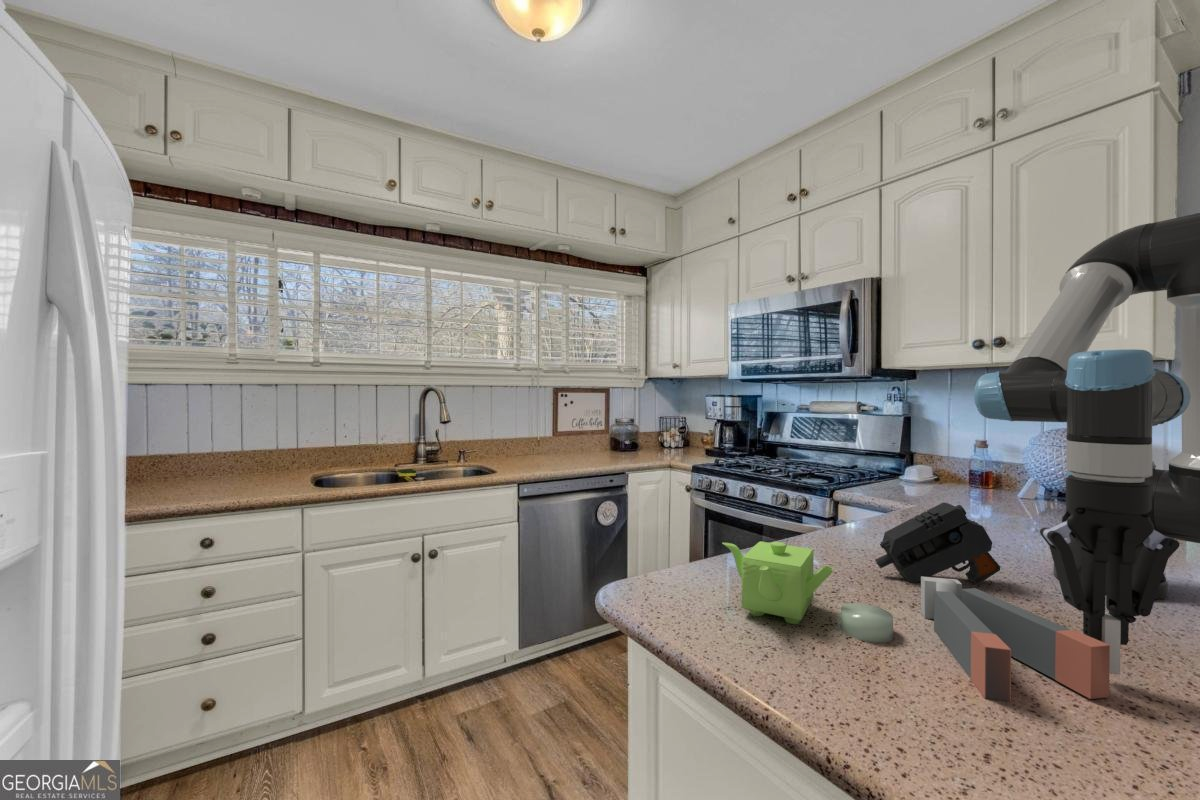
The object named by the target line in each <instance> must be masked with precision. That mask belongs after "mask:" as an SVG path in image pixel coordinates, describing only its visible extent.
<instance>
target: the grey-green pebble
mask: <svg viewBox="0 0 1200 800" xmlns="http://www.w3.org/2000/svg"><path fill="white" fill-rule="evenodd" d="M840 629H841V631H842V632H844V634H845V635H848V636H849V637H851V638H853V639H855V640H856V639H857V640H859V641H863V642H868V643H876V644H877V643H886V642H887V641H888V642H890V641H892V640H893V639H894V616H893V614H892V613H891V612H890V611H888V610H886V609H884V608H883V607H880V606H876V605H873V604H868V603H867V604H866V603H860V602H859V603H858V602H853V603H846V604H843V605H842V606H841V607H840ZM891 639H892V640H891ZM888 642H887V643H888Z"/></svg>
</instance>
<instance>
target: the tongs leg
mask: <svg viewBox="0 0 1200 800" xmlns="http://www.w3.org/2000/svg"><path fill="white" fill-rule="evenodd" d="M961 602H962V603H963V604H964V605H965V606H966V607H967V608H968V609H969V610H970V611H971V612H972V613H973V614H974V615H975V616H976V617H977V618H978V619H979V620H980V621H981V622H982V623H983V624H984V625H985V626H986V627H987V628H988V629H989V630H990V631H991V632H992V633H993V634H996V635H997V636H998V637H999V638H1000V639H1001V640H1002V641H1003V642H1004V643H1005V644H1006V645H1007V646H1008V647H1009V648H1010V649H1011V658H1014V659H1016V660H1018V661H1020V662H1021V663H1024V664H1025V665H1027V666H1029V667H1031V668H1032V669H1035V670H1036V671H1039V672H1041V673H1042V674H1044V675H1046V676H1047V677H1050V678H1051V679H1053V680H1055V681H1056V682H1058V683H1060V684H1061V685H1064V687H1067V688H1069V689H1071V690H1073V691H1075V692H1076V693H1078V694H1080V695H1082V696H1084V697H1085V698H1087V699H1089V700H1093V699H1095V700H1096V699H1104V698H1110V673H1109V667H1110V645H1108V644H1106V643H1104V642H1101V641H1099V640H1097V639H1094V638H1092V637H1090V636H1087V635H1085V634H1084V633H1083V632H1080V631H1078V630H1075V629H1071V628H1068V627H1065V626H1064V625H1061V624H1059V623H1057V622H1054V621H1051V620H1050V619H1047V618H1045V617H1043V616H1041V615H1037V614H1036V613H1033V612H1031V611H1029V610H1026V609H1024V608H1021V607H1020V606H1017V605H1015V604H1013V603H1010V602H1008V601H1006V600H1004V599H1000V598H999V597H997V596H994V595H992V594H990V593H987V592H985V591H982V590H980V589H978V588H975V587H972V588H962V589H961Z"/></svg>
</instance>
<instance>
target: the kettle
mask: <svg viewBox="0 0 1200 800" xmlns="http://www.w3.org/2000/svg"><path fill="white" fill-rule="evenodd" d="M721 543H722V545H723V546H725V547H726V548H727V549H729V550H730V551H731V553H732V557H733V559H734V563H735V566H736V570H737V573H738V576H739V577H740V578H741V608H742V609H745V610H750V611H749V612H750V613H749V614H751V615H752V616H754V617H755V616H756V617H762V616H765V614H769V615H771V616H777V617H782V618H784V621H785V622H786V623H787V624H791V625H798V624H800V622H801V621H802V620H803V617H804V616H805V614H806V612H807V611H808V608H809V606H810V604H811V602H812V600H813V599H814V592H815V591H817V589H818V588H819V587H820V586H821V585H822V584H823V583H824V582H825V581H826V580H827V579H828V577H830V575H832V574H833V573H834V570H835V568H834V567H831V566H829V565H827V564H825V565H824V566H823V567H821V568H820V569H819V570H817V571H816V572H814V549H813V548H807V547H800V546H796V545H795V546H794V545H790V544H789V545H788V544H787V543H785V542H781V541H772V542H766V541H758V542H757V543H756V544H754V546H753V547H752V548H751V549H749V550H748V551H747V552H746V553H745V554H744V555H743V554H742V552H741V549H740V548H739V547H738V546H737V545H736V544H734V543H730V542H721Z"/></svg>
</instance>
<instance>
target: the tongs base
mask: <svg viewBox="0 0 1200 800" xmlns="http://www.w3.org/2000/svg"><path fill="white" fill-rule="evenodd" d="M961 589H963V583H961V581H960V580H958V579H956V578H945V577H944V578H943V577H932V576H930V577H921V580H920V614H921V615H922V617H923V618H924V619H926V620H927V619H928V620H933V631H934V633H935V634H936V636H938V638H939V639H940V640H941V642H942V643H943V644H944V646H945V647H946V648H947V650H948V651H949V652H950V654H951V655H952V656H953V657H954V659H955V661H956V662H957V663H958V664H959V666H960V667H961V668H962V670H963V671H964V672H965V673H966V674H967V676H968V677H969V679H970V681H971V682H972V683H973V685H974V687H975V688H976V689H977V690H978V691H979V693H980V694H981V695H982V696H983V698H984V699H988V700H996V701H1003V702H1009V703H1010V702H1012V697H1011V696H1012V689H1011V688H1012V656H1011V649H1010V648H1009V647H1008V646H1007V645H1006V644H1005V643H1004V642H1003V641H1002V640H1001V639H1000V638H999V637H998V636H997V635H996V634H993V633H992V632H991V631H990V630H989V629H988V628H987V627H986V626H985V625H984V624H983V623H982V622H981V621H980V620H979V619H978V618H977V617H976V616H975V615H974V614H973V613H972V612H971V611H970V610H969V609H968V608H967V607H966V606H965V605H964V604H963V603H962V602H961Z"/></svg>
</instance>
